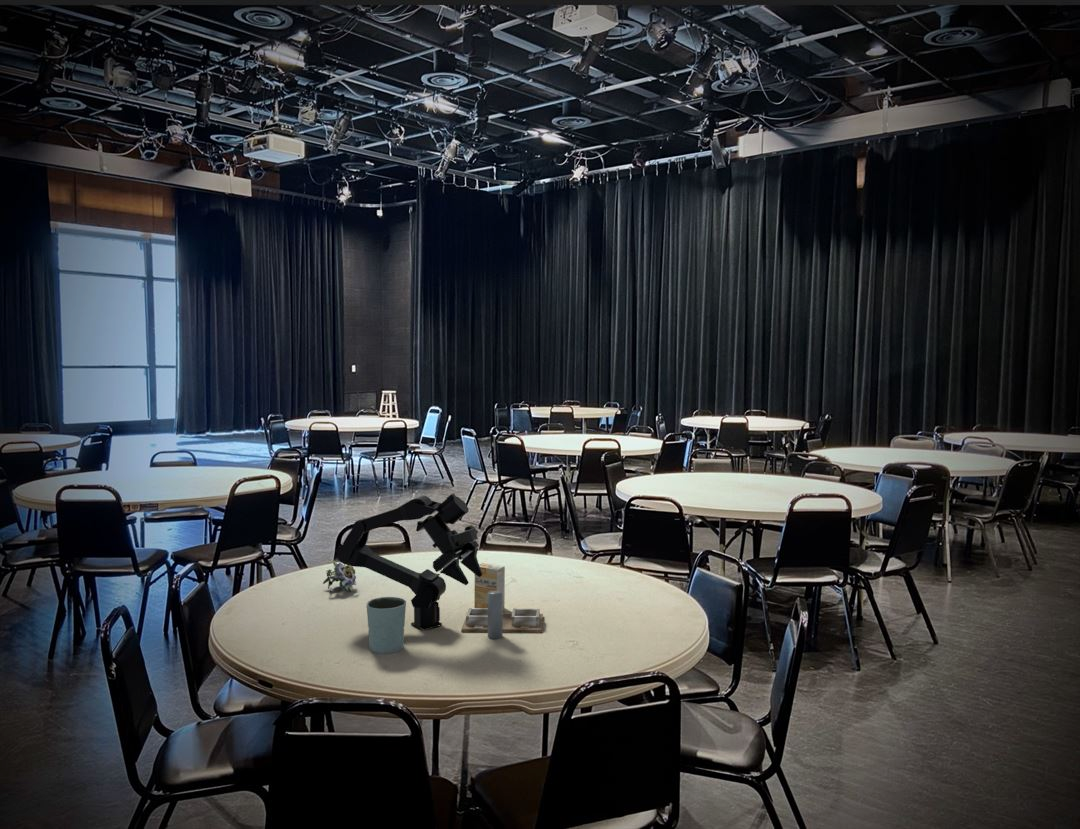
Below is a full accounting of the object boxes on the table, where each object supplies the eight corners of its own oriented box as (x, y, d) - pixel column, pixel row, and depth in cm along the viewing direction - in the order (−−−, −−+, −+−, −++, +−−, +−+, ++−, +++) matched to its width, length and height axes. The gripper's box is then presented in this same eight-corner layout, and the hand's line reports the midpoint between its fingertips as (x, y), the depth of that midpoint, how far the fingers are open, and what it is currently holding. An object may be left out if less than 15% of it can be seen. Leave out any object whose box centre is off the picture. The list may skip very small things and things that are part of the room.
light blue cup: (389, 638, 211) (388, 594, 210) (414, 647, 205) (414, 601, 204) (358, 649, 203) (358, 603, 203) (384, 658, 197) (383, 610, 196)
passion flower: (350, 607, 257) (350, 584, 250) (317, 601, 257) (316, 577, 250) (360, 580, 266) (360, 557, 258) (329, 574, 266) (328, 551, 258)
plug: (494, 640, 210) (494, 595, 209) (484, 636, 213) (484, 592, 212) (505, 636, 212) (505, 592, 212) (496, 633, 215) (495, 589, 215)
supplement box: (473, 608, 238) (473, 565, 237) (482, 604, 242) (481, 562, 241) (497, 612, 234) (497, 569, 233) (505, 608, 238) (505, 565, 237)
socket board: (461, 631, 216) (461, 619, 216) (467, 616, 230) (467, 604, 230) (541, 632, 216) (541, 620, 216) (542, 616, 230) (542, 605, 230)
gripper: (446, 523, 208) (481, 571, 205) (475, 511, 226) (507, 555, 223) (417, 547, 211) (451, 595, 209) (448, 534, 229) (480, 578, 226)
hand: (474, 580), depth 217 cm, fingers open, 9 cm apart
